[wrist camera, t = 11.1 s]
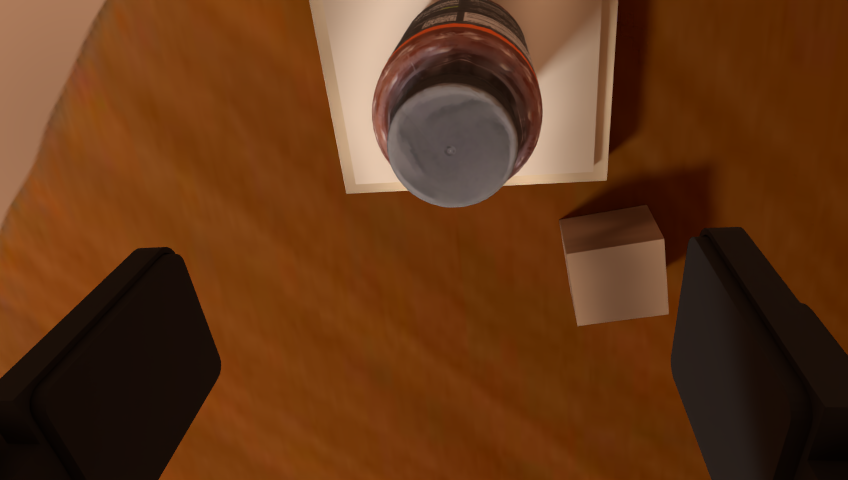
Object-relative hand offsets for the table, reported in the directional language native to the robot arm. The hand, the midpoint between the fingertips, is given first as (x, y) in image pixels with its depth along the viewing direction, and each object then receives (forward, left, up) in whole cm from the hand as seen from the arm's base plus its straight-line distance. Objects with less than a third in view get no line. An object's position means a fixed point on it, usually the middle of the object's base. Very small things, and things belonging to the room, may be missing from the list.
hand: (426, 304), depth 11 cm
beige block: (-8, +13, -22) cm, 26 cm away
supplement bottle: (0, 0, -19) cm, 19 cm away
